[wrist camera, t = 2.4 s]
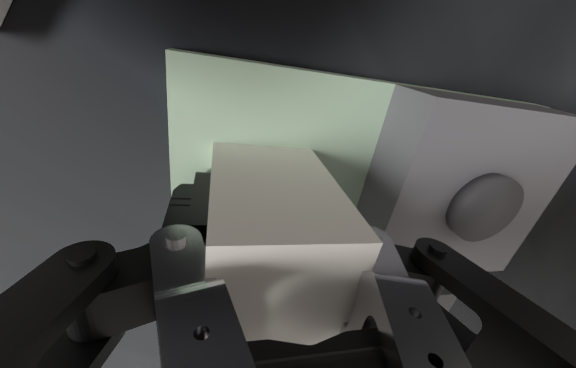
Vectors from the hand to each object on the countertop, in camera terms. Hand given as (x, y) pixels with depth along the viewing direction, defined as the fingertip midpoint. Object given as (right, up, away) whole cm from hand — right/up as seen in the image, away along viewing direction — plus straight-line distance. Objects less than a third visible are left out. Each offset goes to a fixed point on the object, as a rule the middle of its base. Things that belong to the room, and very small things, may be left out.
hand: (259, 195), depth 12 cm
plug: (0, 0, 0) cm, 0 cm away
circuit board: (+4, -4, +5) cm, 7 cm away
